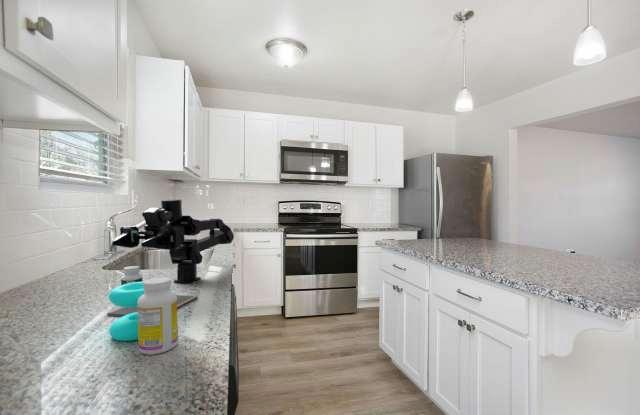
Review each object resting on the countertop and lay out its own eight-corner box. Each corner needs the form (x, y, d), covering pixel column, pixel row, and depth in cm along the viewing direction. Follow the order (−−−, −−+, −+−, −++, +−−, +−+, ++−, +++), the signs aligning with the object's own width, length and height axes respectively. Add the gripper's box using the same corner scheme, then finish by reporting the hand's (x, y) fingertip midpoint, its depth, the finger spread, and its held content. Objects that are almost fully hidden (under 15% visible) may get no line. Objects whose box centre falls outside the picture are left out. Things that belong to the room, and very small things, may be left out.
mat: (154, 295, 90) (154, 293, 90) (197, 298, 88) (197, 296, 88) (107, 315, 75) (107, 312, 75) (157, 319, 72) (157, 316, 72)
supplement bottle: (168, 336, 63) (167, 274, 63) (184, 346, 59) (183, 279, 58) (132, 348, 58) (131, 281, 57) (146, 360, 54) (145, 287, 53)
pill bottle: (125, 302, 85) (125, 270, 85) (118, 298, 88) (117, 267, 88) (146, 297, 89) (145, 266, 89) (138, 294, 92) (137, 264, 92)
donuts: (164, 288, 63) (105, 295, 58) (165, 336, 63) (106, 348, 58) (163, 277, 71) (112, 283, 67) (164, 320, 72) (112, 328, 67)
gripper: (140, 207, 98) (95, 213, 83) (192, 207, 94) (155, 214, 79) (142, 241, 100) (99, 253, 84) (194, 243, 96) (158, 256, 81)
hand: (127, 244), depth 82 cm, fingers open, 9 cm apart
